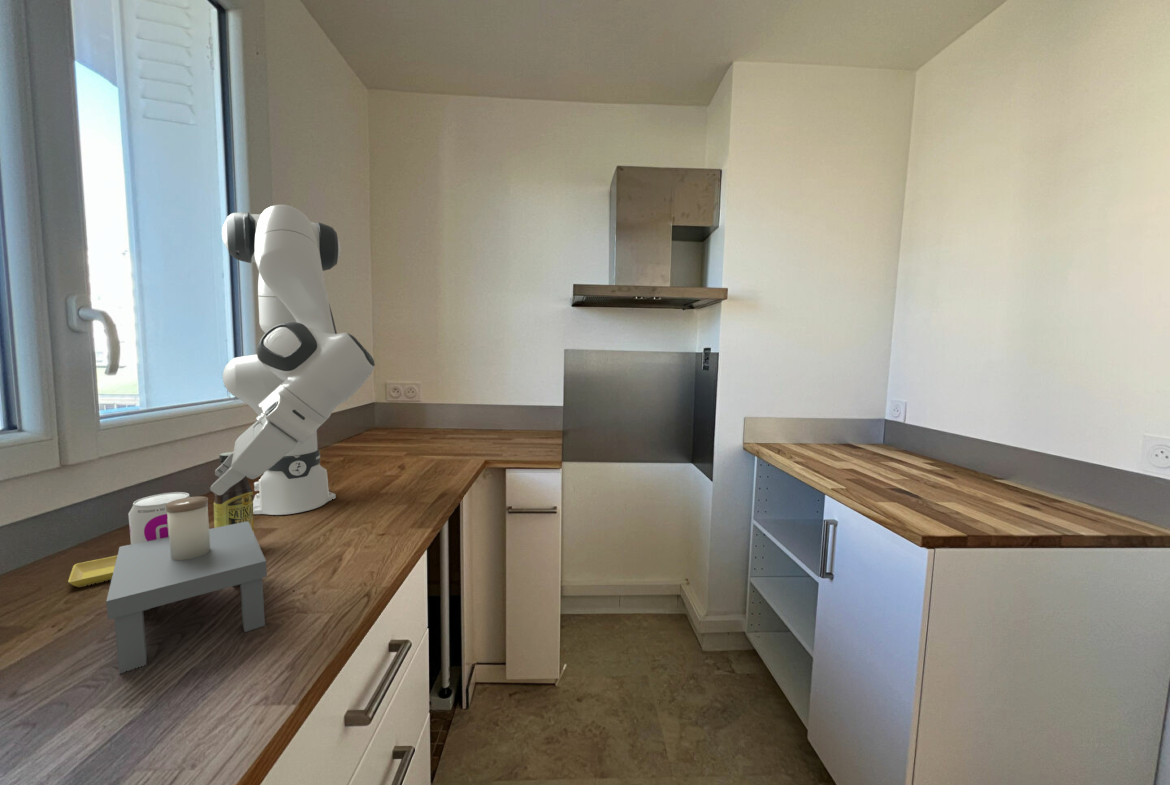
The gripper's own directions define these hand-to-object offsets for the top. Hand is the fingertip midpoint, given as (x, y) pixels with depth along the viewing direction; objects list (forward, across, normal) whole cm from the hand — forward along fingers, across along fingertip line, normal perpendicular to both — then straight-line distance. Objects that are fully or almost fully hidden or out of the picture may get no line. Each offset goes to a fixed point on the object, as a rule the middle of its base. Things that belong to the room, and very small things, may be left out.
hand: (216, 483), depth 69 cm
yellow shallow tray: (+27, -25, +2) cm, 37 cm away
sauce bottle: (+14, -24, +15) cm, 32 cm away
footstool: (+17, 0, +12) cm, 20 cm away
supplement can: (+20, -15, +9) cm, 27 cm away
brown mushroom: (+10, 0, +5) cm, 11 cm away
